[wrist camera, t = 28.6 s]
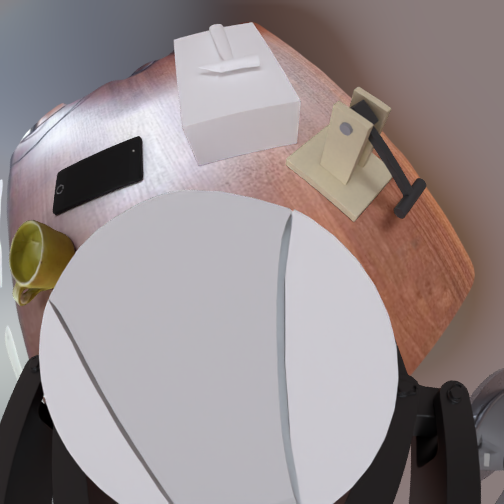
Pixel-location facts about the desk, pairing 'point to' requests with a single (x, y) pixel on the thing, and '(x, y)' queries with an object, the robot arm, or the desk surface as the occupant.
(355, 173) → the lever base
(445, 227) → the desk surface
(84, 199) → the cell phone
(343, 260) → the coffee cup
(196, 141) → the hammer on box
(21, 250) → the mug
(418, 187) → the black lever
